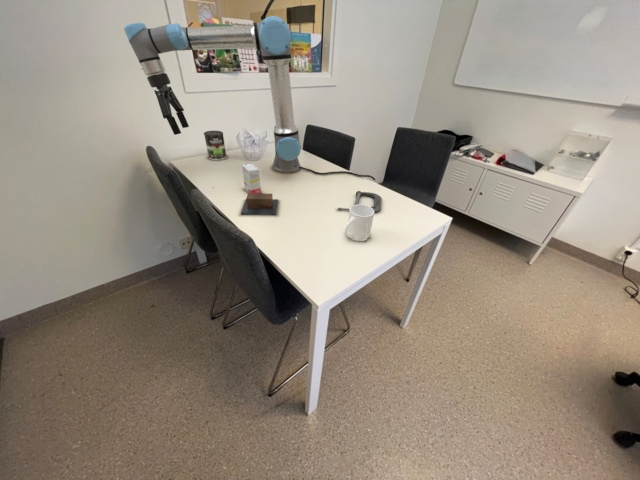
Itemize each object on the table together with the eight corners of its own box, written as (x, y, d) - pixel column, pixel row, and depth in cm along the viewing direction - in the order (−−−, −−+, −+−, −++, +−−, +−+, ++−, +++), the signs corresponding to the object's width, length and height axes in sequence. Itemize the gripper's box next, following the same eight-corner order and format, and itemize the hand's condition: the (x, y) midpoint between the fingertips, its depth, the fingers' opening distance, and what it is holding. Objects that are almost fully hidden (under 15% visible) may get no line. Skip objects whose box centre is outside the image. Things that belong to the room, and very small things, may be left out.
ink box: (261, 193, 121) (259, 169, 114) (251, 196, 119) (248, 171, 112) (254, 186, 127) (251, 162, 120) (244, 188, 125) (241, 164, 118)
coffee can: (228, 159, 155) (224, 134, 147) (210, 161, 151) (205, 135, 143) (225, 153, 162) (221, 129, 154) (207, 155, 158) (202, 131, 150)
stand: (278, 201, 116) (277, 189, 113) (276, 215, 107) (275, 203, 103) (246, 200, 115) (244, 189, 112) (241, 214, 105) (239, 202, 102)
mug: (335, 237, 96) (338, 212, 90) (356, 226, 103) (360, 202, 97) (353, 248, 91) (357, 222, 85) (374, 236, 98) (379, 211, 92)
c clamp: (378, 218, 109) (379, 212, 107) (337, 210, 113) (338, 204, 111) (384, 198, 124) (385, 192, 123) (348, 191, 128) (349, 186, 127)
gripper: (157, 75, 113) (181, 126, 125) (133, 78, 93) (164, 139, 105) (174, 71, 113) (196, 123, 125) (154, 73, 93) (183, 135, 105)
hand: (182, 130), depth 115 cm, fingers open, 13 cm apart
